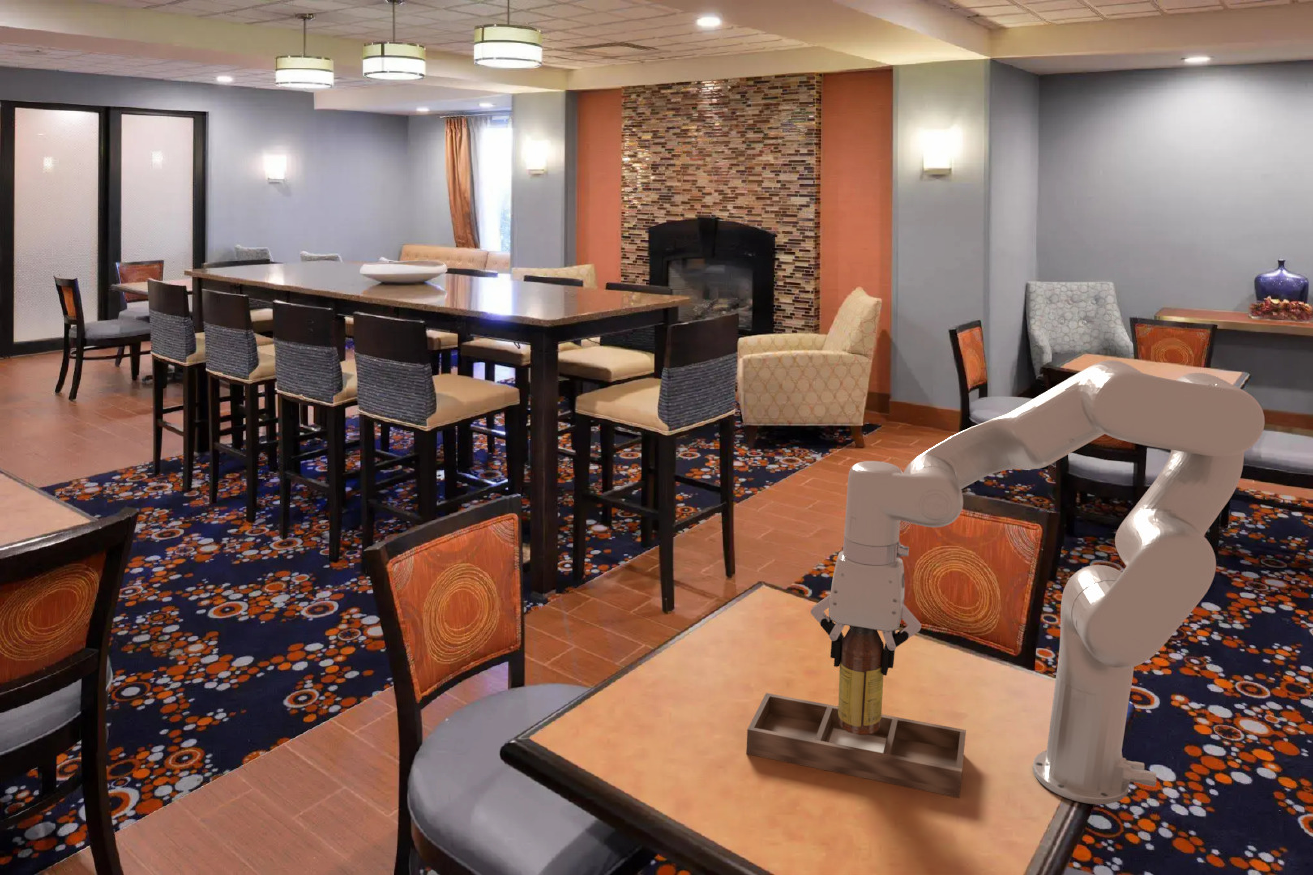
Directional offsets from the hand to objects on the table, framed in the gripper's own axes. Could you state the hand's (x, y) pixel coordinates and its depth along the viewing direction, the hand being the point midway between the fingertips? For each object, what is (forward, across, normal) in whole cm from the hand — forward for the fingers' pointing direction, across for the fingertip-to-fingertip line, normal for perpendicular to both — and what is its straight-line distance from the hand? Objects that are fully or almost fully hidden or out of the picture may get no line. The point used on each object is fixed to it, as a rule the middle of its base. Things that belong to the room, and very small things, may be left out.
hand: (861, 665), depth 143 cm
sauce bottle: (+10, 0, 0) cm, 10 cm away
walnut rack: (+14, 0, 0) cm, 14 cm away
